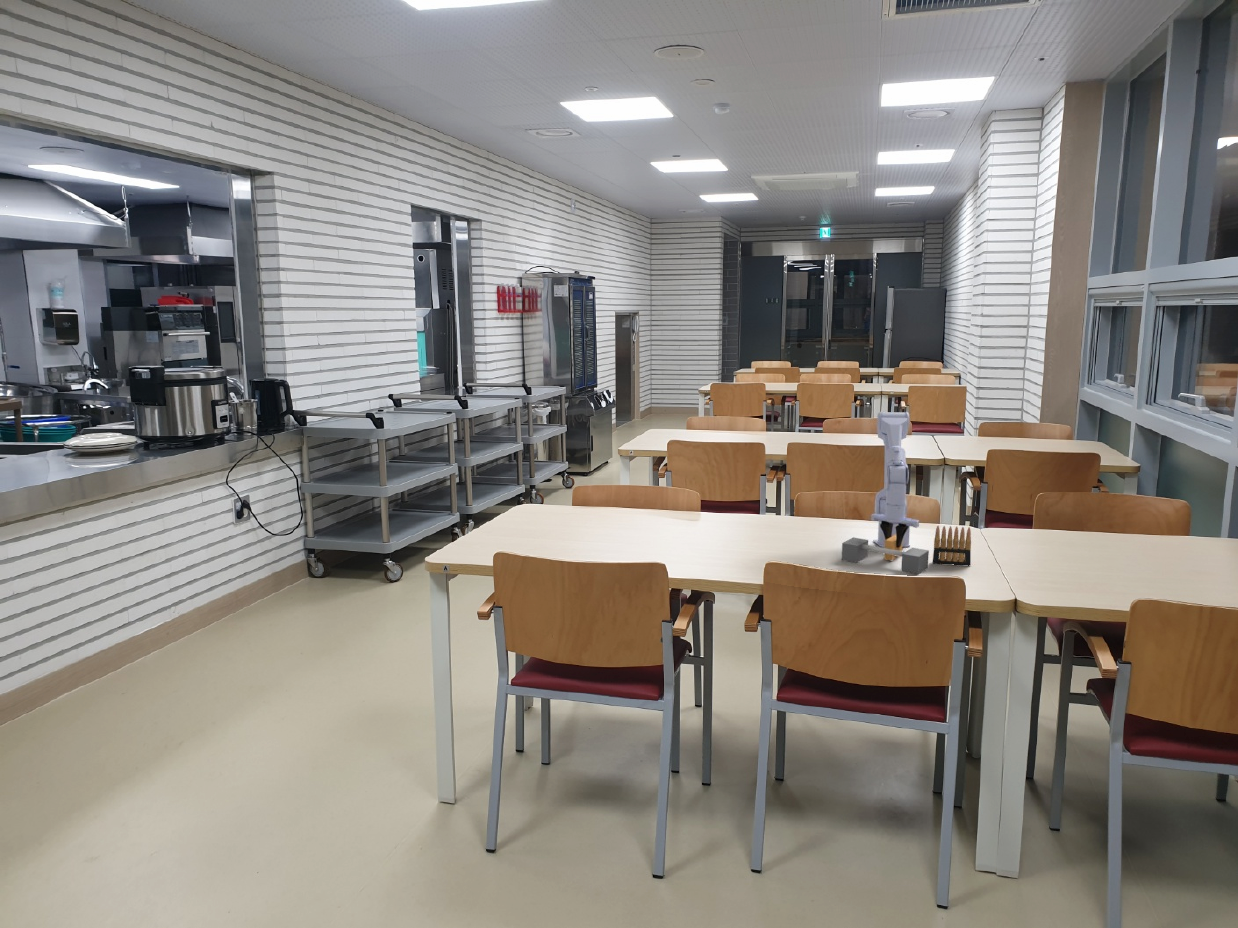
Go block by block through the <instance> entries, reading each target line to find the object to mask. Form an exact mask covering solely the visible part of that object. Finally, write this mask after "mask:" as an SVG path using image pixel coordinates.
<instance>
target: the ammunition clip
mask: <svg viewBox="0 0 1238 928" xmlns="http://www.w3.org/2000/svg"><path fill="white" fill-rule="evenodd" d="M940 530H941V534H940ZM971 530H972V529H971V527H970V526H968V528H967V531H965V527H964V526H962V527H961V529H960V535H959V528H958V526H955V528H954V533H953V529H952V526H951V525H950V526H949V527H948V533H947V528H946V526H945V525H943V527H942V529H940V526H939V525H937V526H936V528H935V535H934V538H933V539H934V540H933V555H932V564H933V565H942V564H954V565H953V566H957V565H968V566H967V567H970V566H969V565H971V557H972V556H971V554H972V553H971V551H972V540H971V539H972V532H971ZM965 532H966V534H965ZM940 535H941V536H940ZM965 535H966V537H965Z"/></svg>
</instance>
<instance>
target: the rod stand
mask: <svg viewBox="0 0 1238 928" xmlns="http://www.w3.org/2000/svg"><path fill="white" fill-rule="evenodd" d="M841 544H842V545H841V561H844V560H845V561H844V562H850V563H855V564H856V563H859V562H862V561H863V560H865V559H866V558H868V557H869V556H868V555H869V551H870V552H875V553H881V554H884V553H885V554H891V555H895V556H898V557H901V570H900V571H901V573H908V574H912V575H913V574H914V575H917V574H918V575H920V574H921V573H922V572H924V571H925V570H927V569H928V568H929V555H930V553H929V552H930V551H929V550H928V549H923V548H916V547H911V548H909V549H908V550H906V551H903V550H902V551H898V550H892V549H887V548H882V547H881V546H875V545H869V539H864V538H857V537H851V538H850V539H847V540H846V541H844V542H841Z"/></svg>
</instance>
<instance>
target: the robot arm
mask: <svg viewBox="0 0 1238 928" xmlns="http://www.w3.org/2000/svg"><path fill="white" fill-rule="evenodd" d="M876 419H877V420H876V429H877V430H876V431H877V432H876V435H877V438H879V439H881V440H882V441H883V445H884V475H883V476H884V478H883V479H884V480H883V483H884V484H883V486H884V487H883V489H880V490H879V491H878V492H877V493H876V494H875V498H874V499H875V500H874V513H872V514H871V515H870V521H872V522H875V521H876V522H878V525H877V526H878V528H877V529H878V531H877V539H873V541H872V542H873V543H875V544H877V545H878V547H881V548H885V540H887V539H888V538H890V537H892V536H894V535H896V547H897V548H899V547H900V546H901V543H902V540H903V543H902V548H905V547H906V548H908V547H911V545H910V533H911V531H910V530H911V529H910V528H911V527H913V528H916V529H917V528H918V527H920V520H919V519H913V518H910V517H907V515H908V514H907V513H908V502H907V501H908V500H907V485H908V483H909V476H910V475H909V474H910V473H909V471H910V470H909V466H908V463H907V459H906V451H905V448H903V447H902V440H904V439H906V438H907V435H908V433H909V430H910V421H911V419H910V413H909V412H908V411H904V412H896V411H895V412H892V411H891V412H887V411H885V412H883V411H879V412H877V418H876Z"/></svg>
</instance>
